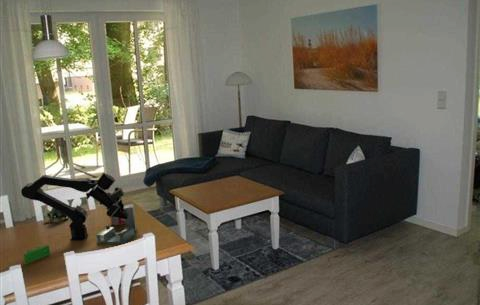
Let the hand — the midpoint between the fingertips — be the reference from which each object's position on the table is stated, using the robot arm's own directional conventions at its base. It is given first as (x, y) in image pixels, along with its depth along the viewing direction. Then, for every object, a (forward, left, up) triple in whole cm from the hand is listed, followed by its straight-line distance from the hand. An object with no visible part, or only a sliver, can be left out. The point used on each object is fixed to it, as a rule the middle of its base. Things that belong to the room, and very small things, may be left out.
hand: (127, 215), depth 211 cm
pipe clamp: (-32, -29, -9) cm, 44 cm away
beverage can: (-10, +12, -9) cm, 18 cm away
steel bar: (+1, 0, -8) cm, 9 cm away
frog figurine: (-49, +21, -9) cm, 54 cm away
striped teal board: (-3, -10, -8) cm, 13 cm away
